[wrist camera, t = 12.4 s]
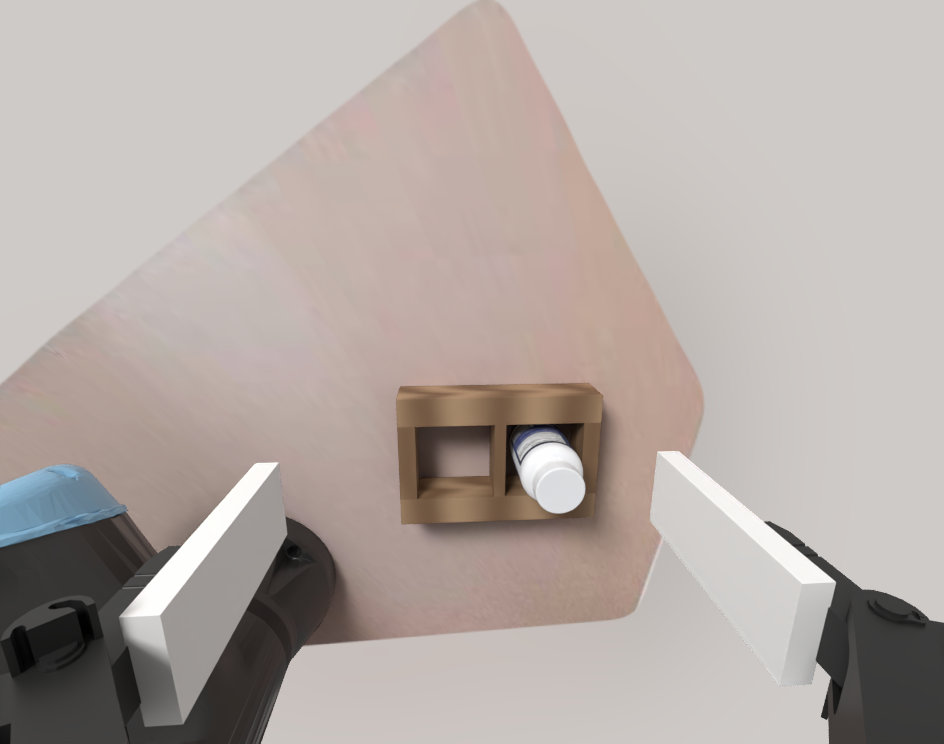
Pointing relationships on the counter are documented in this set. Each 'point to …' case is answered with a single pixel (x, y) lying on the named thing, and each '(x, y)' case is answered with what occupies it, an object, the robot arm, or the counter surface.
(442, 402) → the socket board
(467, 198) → the counter surface
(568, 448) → the pill bottle
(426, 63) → the counter surface
